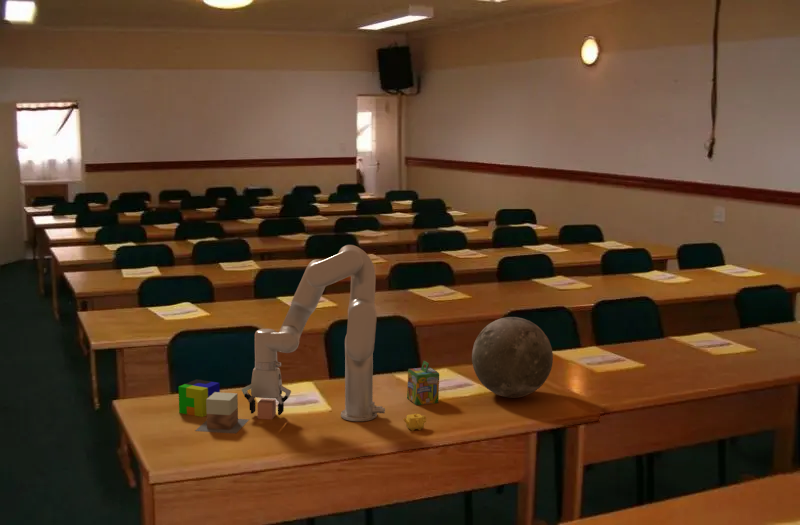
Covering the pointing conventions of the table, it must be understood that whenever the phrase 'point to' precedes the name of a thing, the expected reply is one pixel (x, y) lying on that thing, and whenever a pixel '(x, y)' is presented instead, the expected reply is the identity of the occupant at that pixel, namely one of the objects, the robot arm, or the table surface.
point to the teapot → (415, 421)
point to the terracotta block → (266, 408)
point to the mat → (233, 430)
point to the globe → (512, 357)
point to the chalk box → (423, 385)
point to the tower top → (222, 403)
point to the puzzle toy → (196, 396)
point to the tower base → (222, 420)
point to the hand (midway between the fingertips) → (266, 413)
